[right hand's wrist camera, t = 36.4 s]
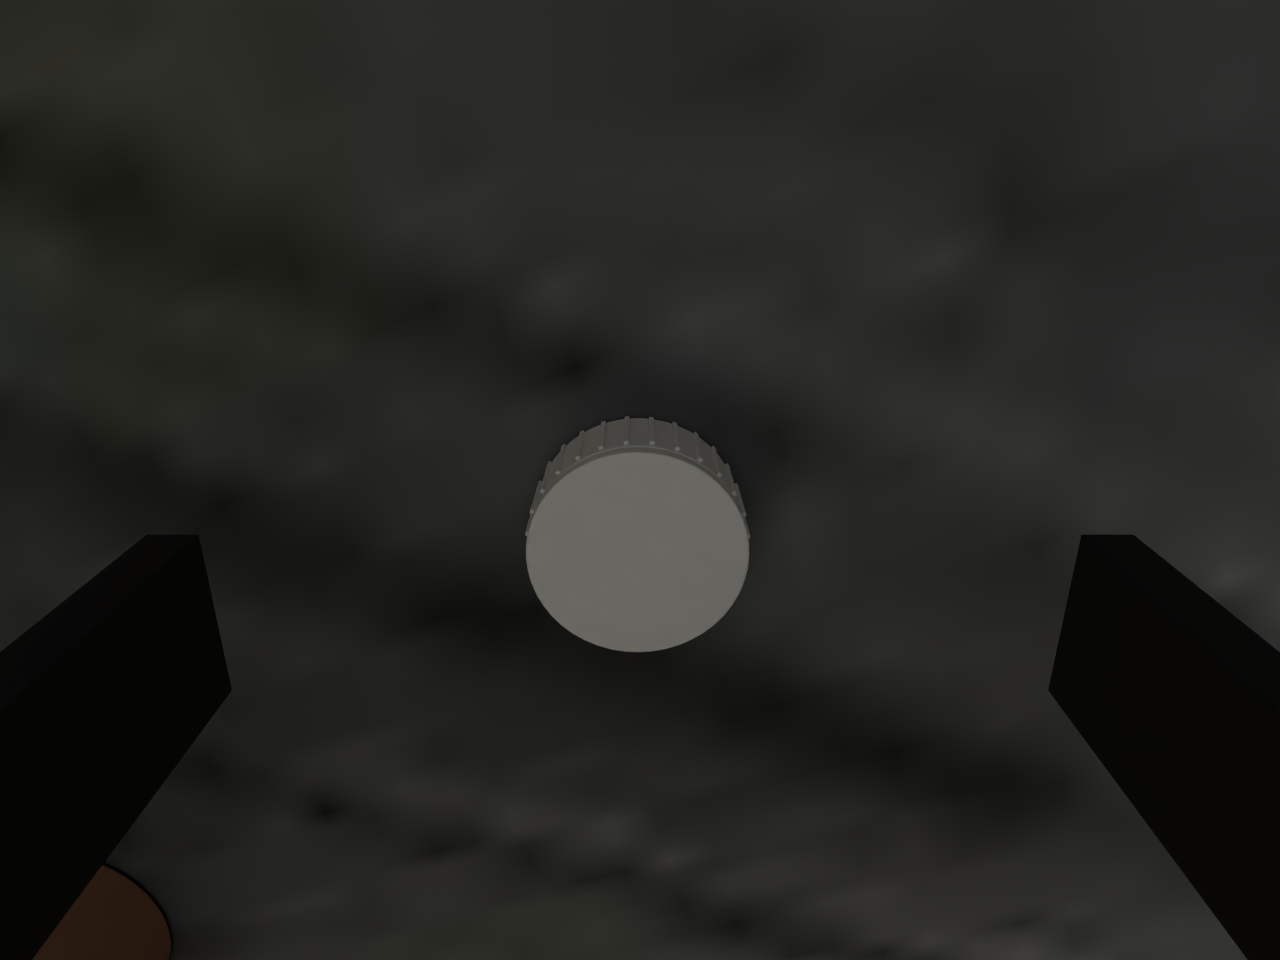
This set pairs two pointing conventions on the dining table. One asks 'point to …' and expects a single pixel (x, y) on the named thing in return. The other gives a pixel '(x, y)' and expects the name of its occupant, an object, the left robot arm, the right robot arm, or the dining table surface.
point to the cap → (637, 536)
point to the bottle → (110, 924)
